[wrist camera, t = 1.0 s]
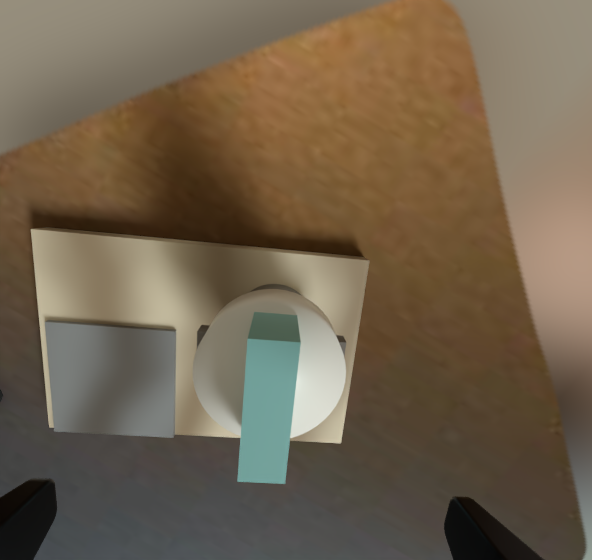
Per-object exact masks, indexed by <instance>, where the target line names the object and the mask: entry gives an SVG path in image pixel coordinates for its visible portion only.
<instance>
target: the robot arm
mask: <svg viewBox="0 0 592 560" xmlns="http://www.w3.org/2000/svg"><path fill="white" fill-rule="evenodd" d="M56 512H57V501H56V490H55V482H54V481H53V480H52V479H47V478H33V479H30V480H28V481H26V482H25V483H23V484H21V485H20V486H18V487H17V488H15V489H13V490H12V491H10V492H9V493H7V494H5V495H4V496H2V497H0V560H33V559H34V557H35V555H36V553H37V551H38V550H39V548H40V546H41V544H42V542H43V540H44V538H45V536H46V535H47V533H48V531H49V529H50V527H51V525H52V523H53V521H54V519H55V516H56ZM444 530H445V535H446V539H447V542H448V545H449V548H450V551H451V554H452V557H453V560H544V559H543V558H542V557H540V556H539V555H538V554H537V553H536V552H535V551H533V550H532V549H531V548H530V547H529V546H527V545H526V544H525V543H524V542H523V541H521V540H520V539H519V538H518V537H517V536H516V535H514V534H513V533H512V532H511V531H510V530H508V529H507V528H506V527H505V526H504V525H503V524H501V523H500V522H499V521H498V520H497V519H495V518H494V517H493V516H492V515H491V514H490V513H488V512H487V511H486V510H485V509H484V508H482V507H481V506H480V505H479V504H478V503H476V502H475V501H474V500H473V499H471V498H469V497H453V498H452V499H451V500H450V503H449V507H448V511H447V515H446V518H445V523H444Z"/></svg>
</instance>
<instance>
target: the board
mask: <svg viewBox="0 0 592 560" xmlns="http://www.w3.org/2000/svg"><path fill="white" fill-rule="evenodd" d="M31 236H32V247H33V258H34V269H35V280H36V291H37V301H38V312H39V323H40V334H41V345H42V356H43V366H44V377H45V388H46V399H47V410H48V420H49V427H50V428H54V431H57V432H75V433H94V434H113V435H131V436H150V437H168V438H173V437H174V435H175V434H179V435H197V436H215V437H234V438H241V436H239V435H236V434H234V433H232V432H230V431H228V430H226V429H225V428H223V427H222V426H220V425H219V424H218V423H217V422H216V421H214V420H213V419H212V418H211V417H210V415H209V414H208V413H207V412H206V411H205V409H204V408H203V406H202V405H201V403H200V401H199V399H198V397H197V394H196V391H195V388H194V383H193V361H194V358H195V354H196V351H197V348H198V346H199V344H200V342H201V340H202V339H203V337H204V335H205V333H206V332H207V330H208V328H209V327H210V325H211V323H212V322H213V320H214V318H215V317H216V315H217V314H218V313H219V312H220V310H221V309H223V308H224V307H225V306H226V305H227V304H228V303H230V302H231V301H232V300H234V299H236V298H237V297H239V296H241V295H244V294H246V293H249V292H252V291H256V290H263V289H280V290H287V291H290V292H294V293H297V294H299V295H301V296H303V297H305V298H307V299H309V300H310V301H312V302H313V303H314V304H315V305H317V306H318V307H319V308H320V309H321V310H322V311H323V312H324V314H325V315H326V316H327V318H328V319H329V321H330V323H331V325H332V327H333V329H334V331H335V334H336V336H337V339H338V341H339V344H340V346H341V349H342V351H343V354H344V359H345V364H346V379H345V385H344V389H343V392H342V395H341V397H340V399H339V401H338V403H337V405H336V407H335V408H334V409H333V411H332V412H331V413H330V414H329V416H328V417H327V418H326V419H325V420H324V421H322V422H321V423H320V424H319V425H318V426H316V427H314V428H313V429H311V430H310V431H308V432H306V433H304V434H302V435H299V436H296V437H293V438H290V441H307V442H326V443H341V439H342V433H343V426H344V420H345V414H346V407H347V401H348V395H349V388H350V382H351V375H352V369H353V363H354V356H355V350H356V343H357V337H358V331H359V324H360V318H361V312H362V305H363V299H364V292H365V286H366V280H367V273H368V267H369V260H368V259H366V258H365V257H358V256H348V255H337V254H327V253H316V252H305V251H295V250H284V249H273V248H263V247H252V246H241V245H231V244H220V243H209V242H199V241H188V240H178V239H167V238H156V237H146V236H135V235H124V234H114V233H103V232H92V231H82V230H71V229H60V228H50V227H45V228H36V229H31Z"/></svg>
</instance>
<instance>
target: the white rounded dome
mask: <svg viewBox="0 0 592 560" xmlns="http://www.w3.org/2000/svg"><path fill="white" fill-rule="evenodd" d="M345 379H346V364H345V359H344V354H343V351H342V349H341V346H340V344H339V341H338V339H337V336H336V334H335V331H334V329H333V327H332V325H331V323H330V321H329V319H328V318H327V316H326V315H325V314H324V312H323V311H322V310H321V309H320V308H319V307H318V306H317V305H315V304H314V303H313V302H312V301H310V300H309V299H307V298H305V297H303V296H301V295H299V294H297V293H294V292H290V291H287V290H280V289H263V290H256V291H252V292H249V293H246V294H244V295H241V296H239V297H237V298H236V299H234V300H232V301H231V302H230V303H228V304H227V305H226V306H225V307H224V308H223V309H221V310H220V312H219V313H218V314H217V315H216V317H215V318H214V320H213V322H212V323H211V325H210V327H209V328H208V330H207V332H206V333H205V335H204V337H203V339H202V340H201V342H200V344H199V346H198V348H197V351H196V354H195V358H194V361H193V383H194V388H195V391H196V394H197V397H198V399H199V401H200V403H201V405H202V406H203V408H204V409H205V411H206V412H207V413H208V414H209V415H210V417H211V418H212V419H213V420H214V421H216V422H217V423H218V424H219V425H220V426H222V427H223V428H225V429H226V430H228V431H230V432H232V433H234V434H236V435H239V436H241V439H240V453H239V467H238V482H257V483H279V484H285V478H286V470H287V461H288V452H289V443H290V438H293V437H296V436H299V435H302V434H304V433H306V432H308V431H310V430H311V429H313V428H314V427H316V426H318V425H319V424H320V423H321V422H322V421H324V420H325V419H326V418H327V417H328V416H329V414H330V413H331V412H332V411H333V409H334V408H335V407H336V405H337V403H338V401H339V399H340V397H341V395H342V392H343V389H344V385H345Z"/></svg>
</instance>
